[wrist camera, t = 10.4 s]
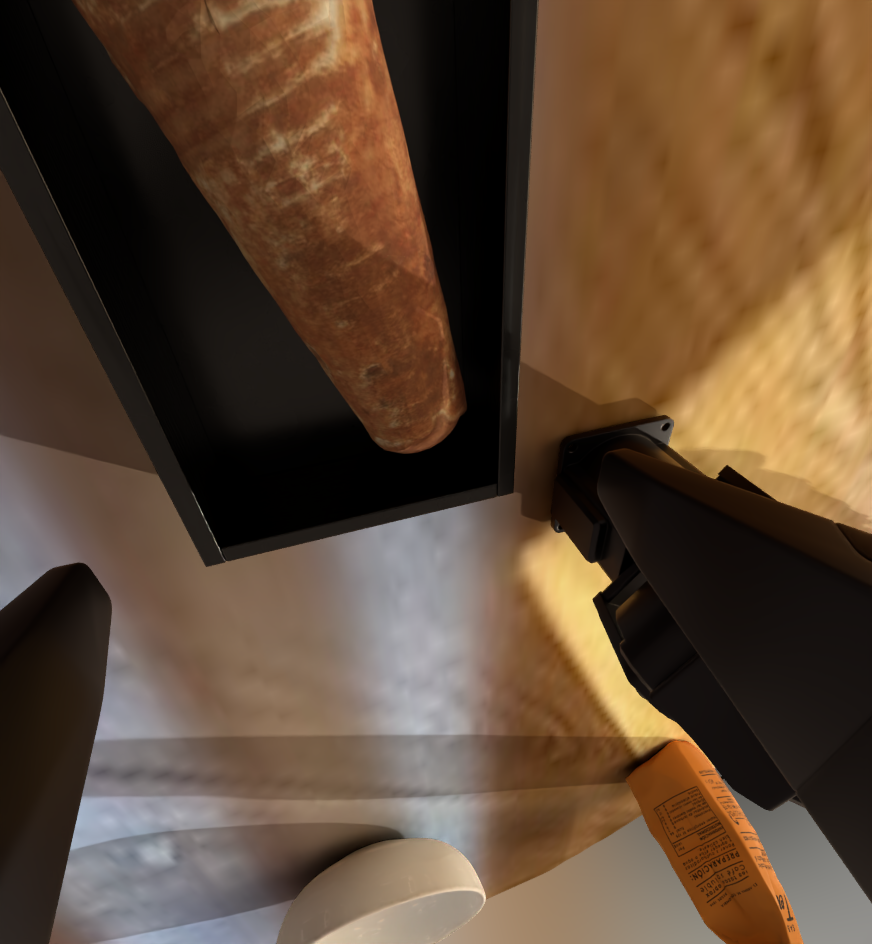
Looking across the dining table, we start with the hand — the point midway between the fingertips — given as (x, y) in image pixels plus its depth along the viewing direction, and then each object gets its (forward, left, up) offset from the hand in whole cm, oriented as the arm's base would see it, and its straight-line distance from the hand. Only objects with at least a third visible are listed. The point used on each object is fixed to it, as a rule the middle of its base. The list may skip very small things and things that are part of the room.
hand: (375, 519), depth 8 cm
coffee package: (-31, +62, -12) cm, 70 cm away
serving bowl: (+6, +58, -12) cm, 60 cm away
